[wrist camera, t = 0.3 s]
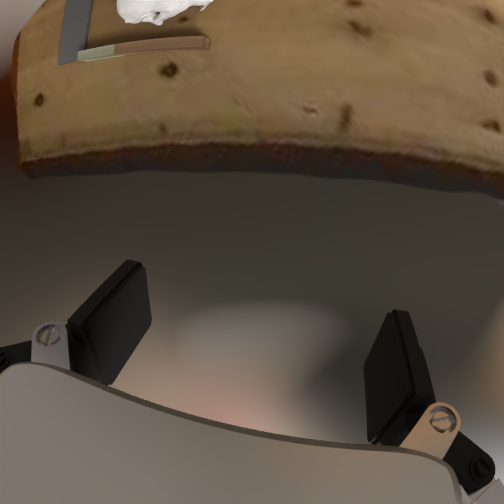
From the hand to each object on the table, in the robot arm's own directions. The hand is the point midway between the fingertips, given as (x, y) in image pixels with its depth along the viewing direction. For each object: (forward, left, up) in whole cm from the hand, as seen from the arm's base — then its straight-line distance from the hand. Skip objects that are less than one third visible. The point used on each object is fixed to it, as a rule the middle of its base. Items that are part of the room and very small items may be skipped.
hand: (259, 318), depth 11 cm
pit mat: (-21, -37, -30) cm, 52 cm away
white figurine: (-21, -18, -31) cm, 41 cm away
